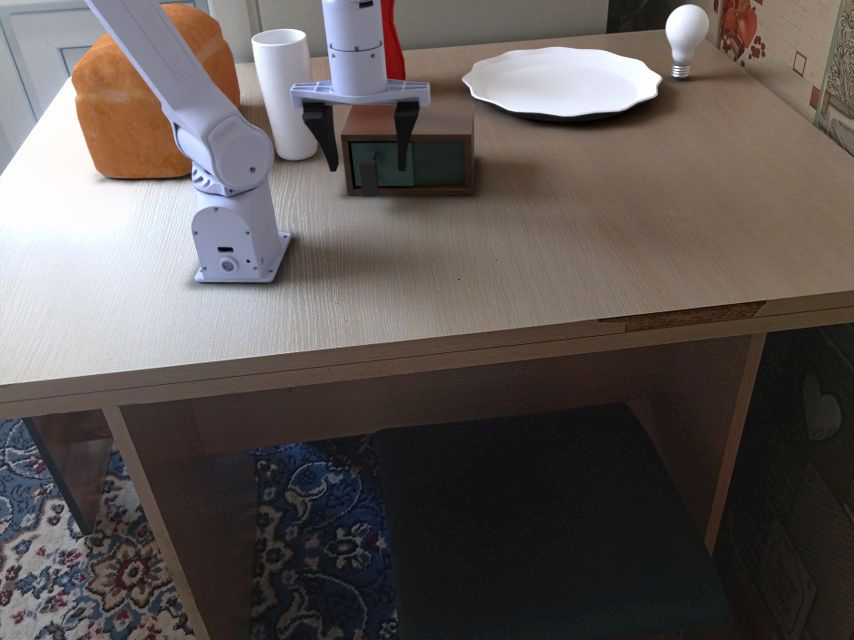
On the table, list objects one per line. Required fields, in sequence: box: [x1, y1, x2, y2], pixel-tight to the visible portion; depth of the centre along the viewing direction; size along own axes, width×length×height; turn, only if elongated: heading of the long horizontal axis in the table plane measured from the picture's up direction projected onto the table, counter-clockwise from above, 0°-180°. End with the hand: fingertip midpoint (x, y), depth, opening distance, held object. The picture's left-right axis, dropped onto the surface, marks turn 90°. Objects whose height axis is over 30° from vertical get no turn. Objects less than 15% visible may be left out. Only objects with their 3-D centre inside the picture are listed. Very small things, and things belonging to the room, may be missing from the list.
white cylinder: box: [251, 28, 318, 161], centre depth 99 cm, size 7×7×15 cm
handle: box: [351, 141, 415, 198], centre depth 90 cm, size 5×7×5 cm
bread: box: [70, 2, 241, 179], centre depth 104 cm, size 14×26×16 cm, turn 179°
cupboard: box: [339, 101, 475, 196], centre depth 96 cm, size 10×15×8 cm, turn 88°
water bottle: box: [380, 0, 407, 81], centre depth 113 cm, size 9×11×25 cm
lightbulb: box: [665, 3, 710, 81], centre depth 120 cm, size 6×6×11 cm
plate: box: [461, 46, 664, 123], centre depth 119 cm, size 29×29×2 cm
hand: (368, 167), depth 88 cm, fingers open, 7 cm apart
